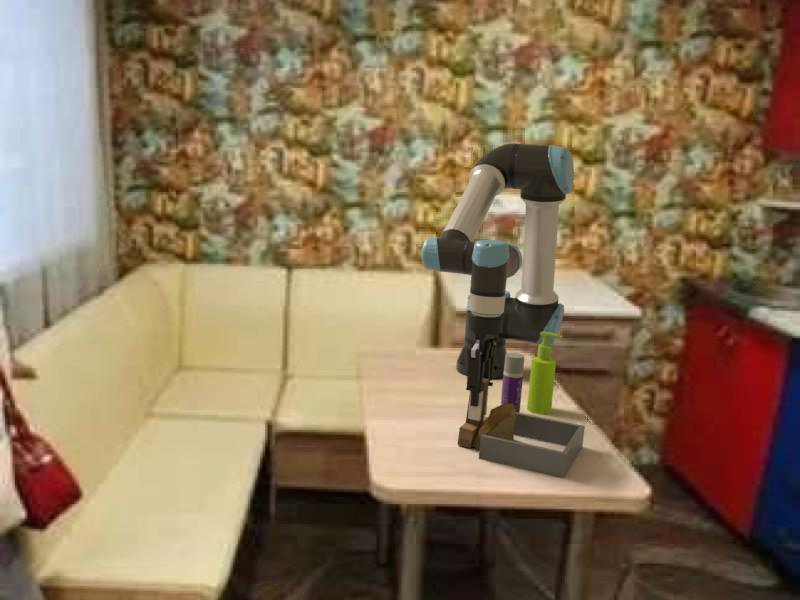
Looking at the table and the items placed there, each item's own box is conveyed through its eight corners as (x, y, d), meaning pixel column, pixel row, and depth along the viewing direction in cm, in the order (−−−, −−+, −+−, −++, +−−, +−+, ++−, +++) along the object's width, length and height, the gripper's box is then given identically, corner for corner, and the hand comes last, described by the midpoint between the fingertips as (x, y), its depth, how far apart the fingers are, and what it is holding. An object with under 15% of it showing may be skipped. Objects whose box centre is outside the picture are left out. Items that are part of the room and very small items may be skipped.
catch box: (504, 430, 182) (506, 410, 181) (582, 447, 175) (584, 425, 174) (478, 458, 166) (480, 435, 165) (563, 477, 159) (566, 454, 158)
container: (518, 418, 190) (524, 359, 186) (499, 416, 191) (504, 356, 187) (519, 412, 194) (525, 353, 191) (500, 409, 195) (505, 351, 192)
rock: (476, 445, 166) (522, 440, 167) (469, 406, 170) (515, 401, 170) (470, 457, 176) (514, 452, 177) (464, 420, 179) (507, 415, 180)
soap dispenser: (549, 417, 192) (557, 337, 188) (523, 410, 196) (530, 332, 191) (558, 410, 197) (566, 333, 193) (532, 404, 200) (539, 328, 196)
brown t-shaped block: (473, 430, 180) (481, 372, 177) (485, 433, 179) (494, 375, 176) (457, 444, 172) (465, 383, 168) (470, 448, 170) (479, 387, 167)
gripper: (481, 303, 178) (473, 402, 183) (456, 317, 163) (447, 424, 168) (513, 308, 175) (504, 409, 180) (490, 323, 160) (481, 431, 165)
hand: (477, 416), depth 174 cm, fingers closed on brown t-shaped block, 3 cm apart
